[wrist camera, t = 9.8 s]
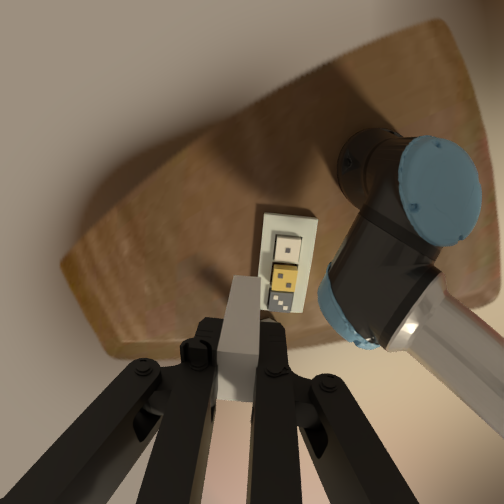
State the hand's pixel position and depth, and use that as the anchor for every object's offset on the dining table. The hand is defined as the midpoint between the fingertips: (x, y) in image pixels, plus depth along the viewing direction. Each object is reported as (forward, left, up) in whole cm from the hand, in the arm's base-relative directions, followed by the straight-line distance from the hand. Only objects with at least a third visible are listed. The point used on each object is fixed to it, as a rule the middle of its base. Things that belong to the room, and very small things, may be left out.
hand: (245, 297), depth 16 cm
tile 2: (+4, +14, -32) cm, 35 cm away
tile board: (+3, +12, -34) cm, 36 cm away
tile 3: (+7, +17, -34) cm, 38 cm away
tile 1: (+1, +10, -34) cm, 35 cm away
